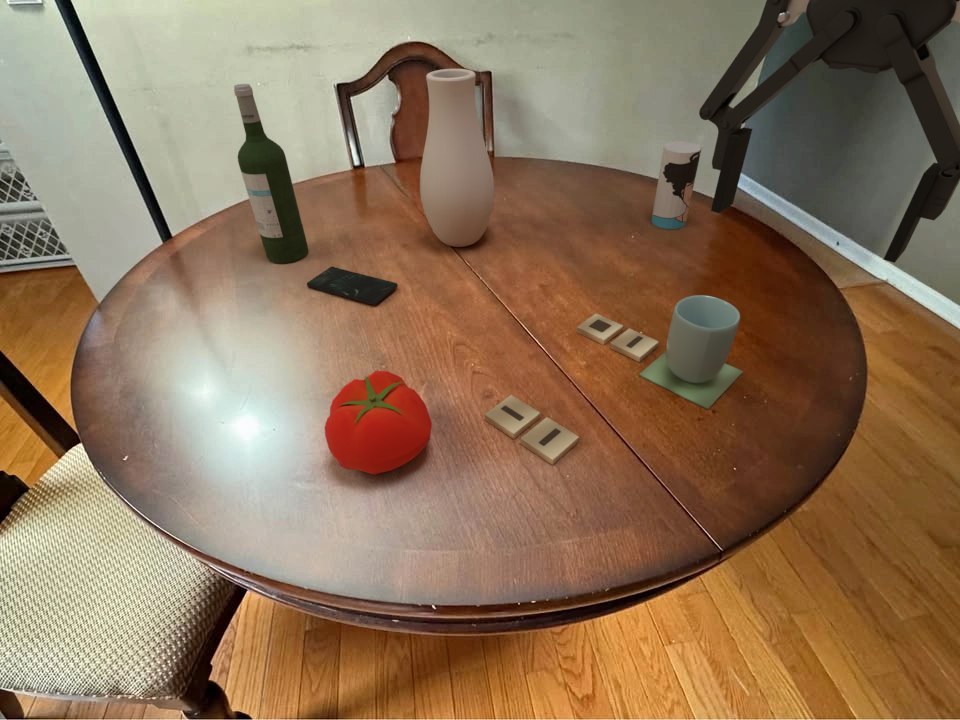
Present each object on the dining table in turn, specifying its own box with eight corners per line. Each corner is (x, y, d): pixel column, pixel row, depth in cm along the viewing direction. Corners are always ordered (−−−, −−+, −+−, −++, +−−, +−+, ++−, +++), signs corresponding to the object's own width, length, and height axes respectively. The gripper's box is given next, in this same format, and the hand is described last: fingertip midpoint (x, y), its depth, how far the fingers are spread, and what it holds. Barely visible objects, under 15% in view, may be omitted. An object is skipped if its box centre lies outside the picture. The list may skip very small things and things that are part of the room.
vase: (418, 255, 105) (398, 82, 87) (434, 224, 116) (420, 64, 97) (489, 259, 103) (485, 83, 85) (499, 227, 114) (497, 64, 95)
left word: (578, 442, 67) (579, 435, 66) (552, 465, 64) (553, 459, 63) (511, 400, 73) (511, 393, 72) (484, 419, 70) (484, 413, 69)
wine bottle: (314, 245, 110) (275, 79, 91) (300, 264, 104) (255, 91, 85) (276, 244, 111) (229, 80, 92) (260, 264, 105) (206, 91, 86)
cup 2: (733, 376, 75) (754, 314, 68) (695, 399, 71) (713, 337, 65) (686, 348, 80) (701, 288, 74) (649, 368, 76) (661, 308, 70)
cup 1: (683, 231, 110) (699, 154, 100) (648, 226, 112) (661, 151, 103) (687, 217, 115) (703, 143, 105) (654, 213, 117) (666, 140, 107)
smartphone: (331, 265, 101) (398, 282, 95) (332, 270, 102) (399, 287, 96) (305, 283, 97) (373, 302, 91) (306, 288, 97) (374, 307, 91)
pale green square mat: (742, 372, 76) (745, 366, 75) (707, 410, 70) (709, 403, 70) (604, 311, 88) (605, 305, 88) (565, 339, 83) (566, 333, 82)
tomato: (414, 499, 61) (405, 445, 56) (313, 477, 64) (295, 424, 58) (450, 419, 70) (445, 367, 65) (360, 403, 73) (349, 352, 68)
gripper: (690, -97, 38) (643, 203, 51) (1235, -124, 23) (974, 301, 37) (740, -98, 42) (684, 180, 55) (1230, -122, 28) (996, 260, 41)
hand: (800, 229), depth 46 cm, fingers open, 13 cm apart
